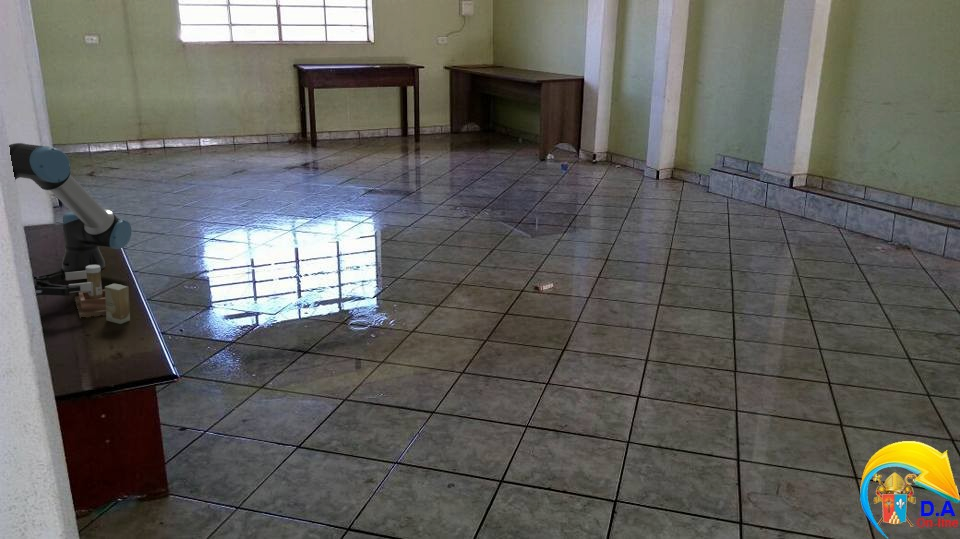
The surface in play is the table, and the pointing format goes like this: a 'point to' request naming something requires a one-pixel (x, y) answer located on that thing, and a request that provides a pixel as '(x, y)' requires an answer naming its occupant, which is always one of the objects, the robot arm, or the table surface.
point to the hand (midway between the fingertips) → (89, 280)
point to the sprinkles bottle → (94, 281)
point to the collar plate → (90, 305)
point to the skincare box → (117, 303)
